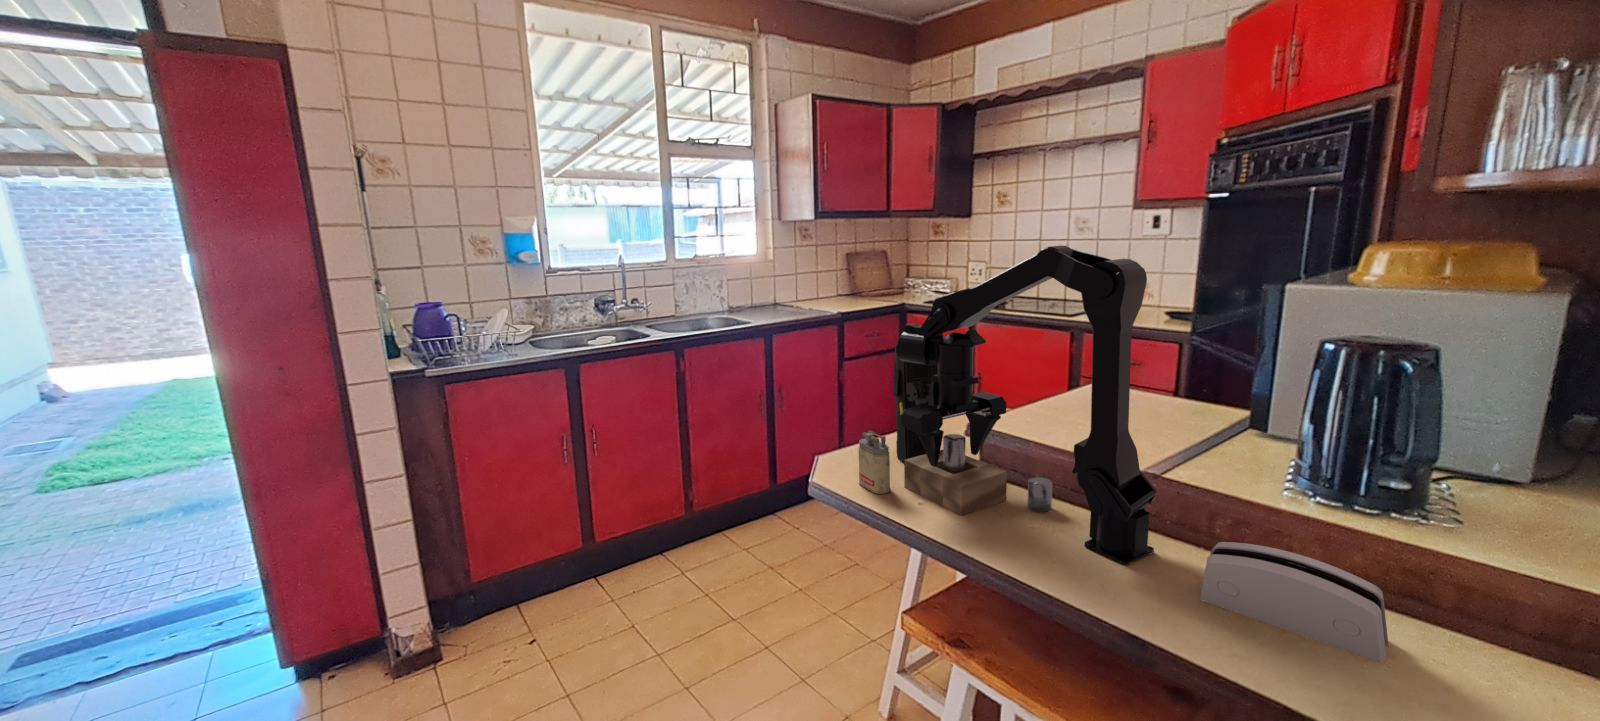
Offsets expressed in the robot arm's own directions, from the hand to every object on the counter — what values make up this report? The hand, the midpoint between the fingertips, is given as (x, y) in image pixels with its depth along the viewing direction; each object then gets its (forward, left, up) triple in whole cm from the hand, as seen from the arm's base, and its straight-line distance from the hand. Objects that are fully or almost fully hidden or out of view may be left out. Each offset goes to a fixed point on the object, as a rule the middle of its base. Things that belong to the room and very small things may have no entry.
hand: (954, 460), depth 108 cm
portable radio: (+16, -5, -6) cm, 18 cm away
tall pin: (0, 0, -6) cm, 6 cm away
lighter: (+10, +9, -6) cm, 15 cm away
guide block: (0, 0, -6) cm, 6 cm away
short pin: (-12, -7, -6) cm, 15 cm away
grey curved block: (-47, -5, -6) cm, 48 cm away
